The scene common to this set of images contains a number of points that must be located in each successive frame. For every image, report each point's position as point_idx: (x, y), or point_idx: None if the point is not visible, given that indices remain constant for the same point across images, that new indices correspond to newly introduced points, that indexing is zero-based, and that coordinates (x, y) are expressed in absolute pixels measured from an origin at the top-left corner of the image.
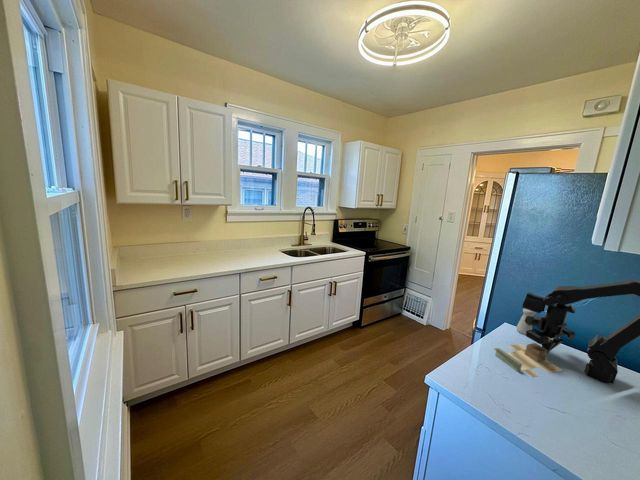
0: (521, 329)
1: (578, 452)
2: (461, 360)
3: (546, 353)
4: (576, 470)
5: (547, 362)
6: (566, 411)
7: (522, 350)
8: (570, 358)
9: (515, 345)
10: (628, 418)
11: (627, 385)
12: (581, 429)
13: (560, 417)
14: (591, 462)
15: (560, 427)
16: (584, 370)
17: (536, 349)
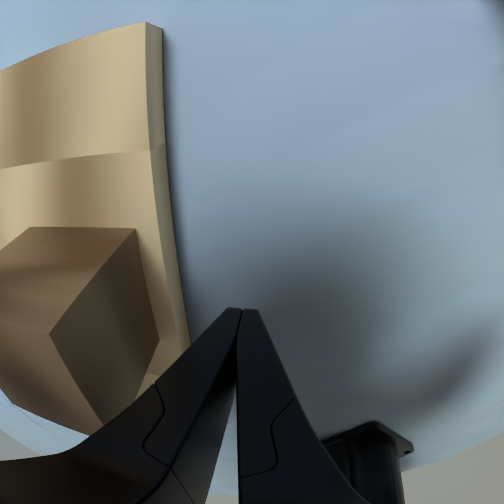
0: None
1: (19, 436)
2: None
3: (129, 405)
4: (5, 432)
5: (157, 360)
6: (46, 427)
7: (46, 169)
8: (480, 334)
9: (48, 64)
10: (208, 491)
11: (423, 460)
12: (50, 443)
13: (23, 420)
14: (29, 445)
15: (12, 420)
16: (340, 452)
17: (2, 383)
